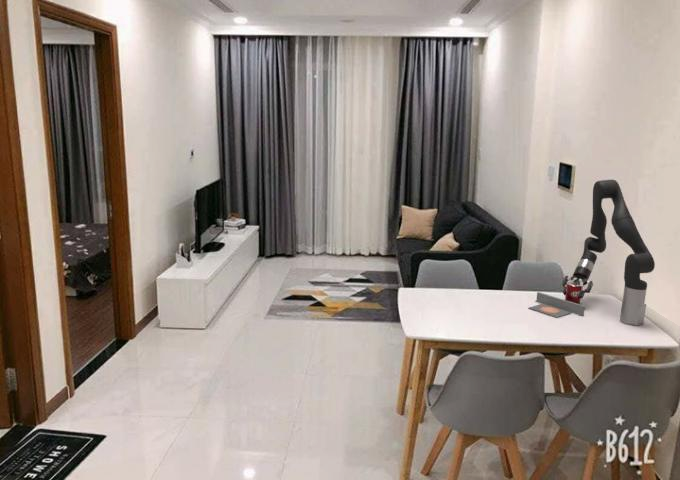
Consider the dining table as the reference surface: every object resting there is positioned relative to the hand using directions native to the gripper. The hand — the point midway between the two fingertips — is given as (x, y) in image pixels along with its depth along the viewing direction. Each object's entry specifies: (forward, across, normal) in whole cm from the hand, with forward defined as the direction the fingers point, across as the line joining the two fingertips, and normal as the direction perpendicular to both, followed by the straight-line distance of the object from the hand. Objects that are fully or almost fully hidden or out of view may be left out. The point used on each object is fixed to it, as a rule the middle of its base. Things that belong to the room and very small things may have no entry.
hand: (572, 296), depth 280 cm
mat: (+14, -5, -6) cm, 16 cm away
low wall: (+9, -3, 0) cm, 9 cm away
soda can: (+3, 0, +6) cm, 6 cm away
